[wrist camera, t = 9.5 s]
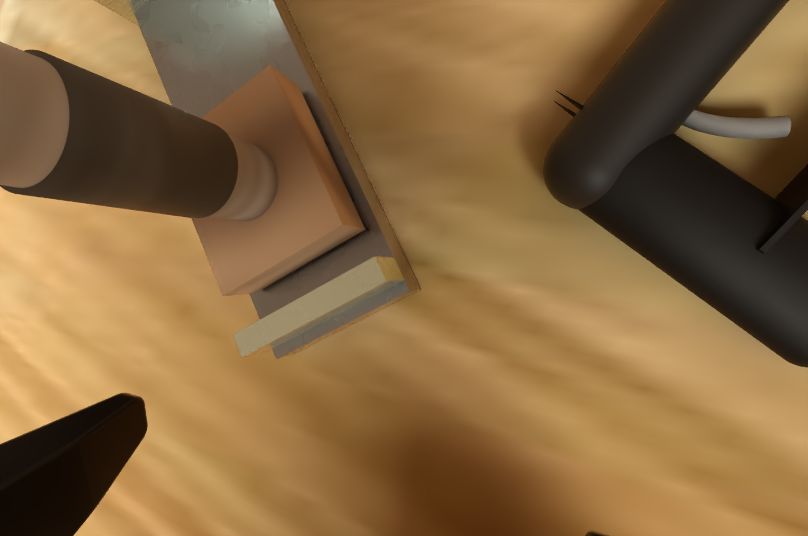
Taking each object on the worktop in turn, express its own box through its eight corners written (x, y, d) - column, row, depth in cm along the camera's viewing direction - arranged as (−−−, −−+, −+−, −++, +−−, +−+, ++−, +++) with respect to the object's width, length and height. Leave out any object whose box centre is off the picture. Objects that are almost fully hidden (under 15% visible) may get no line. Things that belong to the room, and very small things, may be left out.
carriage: (365, 229, 18) (11, 158, 6) (255, 293, 20) (-181, 330, 8) (298, 85, 19) (-113, -206, 7) (199, 158, 21) (-258, 18, 9)
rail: (430, 284, 19) (346, 295, 11) (277, 362, 21) (123, 414, 14) (238, -116, 22) (72, -317, 14) (125, -7, 24) (-67, -129, 17)
